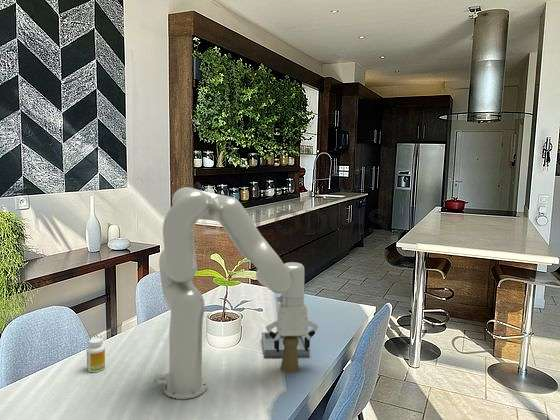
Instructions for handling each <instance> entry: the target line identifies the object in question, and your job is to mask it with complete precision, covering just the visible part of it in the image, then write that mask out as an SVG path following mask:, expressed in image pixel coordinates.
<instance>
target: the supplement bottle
mask: <svg viewBox="0 0 560 420" xmlns="http://www.w3.org/2000/svg"><path fill="white" fill-rule="evenodd" d="M88 345H89V346H88V347H87V348H86V370H87V372H88V373H100V372H102V371H103V370H104V369H106V368H105V367H106V350H105V348H106V347H105V345H104V344H103V339H102V338H100V337H94V338H90V339H89V341H88ZM101 370H102V371H101Z"/></svg>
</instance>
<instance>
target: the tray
mask: <svg viewBox="0 0 560 420" xmlns="http://www.w3.org/2000/svg"><path fill="white" fill-rule="evenodd" d="M273 332H274V333H276V332H277V331H276V332H275V331H273ZM284 337H285V336H280V338H279V352H277V351H276V349H274V339H273V338H272V337H271V336H270V335H269V333H268V331H267V332H266V331H265V332H264V331H263V332H261V344H262V351H263V357H264V358H263V359H282V358H283V352H284V345H283V339H284ZM296 337H297V338H298V346H297V356H298V359H299V358H306V359H307V358H310V355H311V354H310V349H311V348H308V351H305V348H304V340H305V335H304V336H296Z"/></svg>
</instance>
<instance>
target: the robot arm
mask: <svg viewBox="0 0 560 420" xmlns="http://www.w3.org/2000/svg"><path fill="white" fill-rule="evenodd" d="M171 202H172V205H171V206H170V208H169V209H168V211H167V213H166V215H165V217H164V219H163V224H162V239H163V250H162V251H161V253H160V256H159V259H158V262H159V263H158V267H159V273H160V281H161V290H162V295H163V298H164V301H165V303H166V304H167V307H168V308H169V310H170V319H169V320H170V321H169V328H168V329H169V331H168V332H169V333H168V334H169V335H168V338H169V339H168V342H169V344H168V347H169V349H168V350H169V353H168V354H169V357H168V358H169V359H168V360H169V362H168V363H169V366H168V367H169V369H168V373H165V374H155V375H153V377H154V378H153V381H154V382H156V385H157V386H159V385H160V386H161V385H163V392H164V394H165V395H166V396H168V397H169V398H171V397H172V399H175V398H176V399H177V400H188V399H193V398H196V397H199V396H201V395H202V394H203V393H205V391H206V390H207V387H208V383H207V381H206V380H205V379H204V378H203V376H202V375H203V373H202V372H203V369H202V368H203V367H202V366H203V323H204V314H205V307H206V306H205V305H206V304H205V299H204V296H203V295H202V292H201V291H200V290H199V289H198V288H197V286H195V285H194V283H193V279H194V278H195V276H196V274H197V272H198V262H197V261H198V260H197V256H196V255H197V254H196V248H195V238H194V230H195V225H196V224H197V222H198V221H199V220H200V219H203V220H204V219H205V220H211V221H215V222H218V223H219V224H220V225H221V227H222V228H223V230H224V231H225V233H226V234H227V236H228V237H229V238H230V240H231V241H232V243H233V245H234V246H235V248H236V249H237V251H238V252H240V253H241V256H243V257H245V258H246V260H248V261H249V262H250V263H251V264H253V265H254V267H255V268H256V272H255V278H256V279H257V282H258V283H259V284H261V285H262V286H263V287H265V288H267V289H268V290H269V291H271V292H273V293H275V294H280V296H278V297H276V302H279V304H278V309H277V316H276V320H275V321H274V322H271V323H270V324H268V325H266V326H265V329H266V331H267V332H268V333H269V335H270V336H271V337H272V338H273V339H274V349H276V351H277V352H279V338H280V336H305V340H304V348H305V351H308V348H309V349H311V347H310V344H311V343H310V342H311V339H312V338H313V336H314V335H315V334H316V332H317V330H318V329H319V326H318V324H317V323H315V322H313V321H311V320H309V315H308V307H307V304H306V303H305V266H304V265H303V264H302V263H301V262H293V261H290V262H285V263H284V262H283V261H282V259H281V258H280V256H279V255H278V253H277V252H276V251H275V250H274V249H273V247H272V246H271V245H270V244H269V242H268V241H267V240H266V239H265V237H264V236H263V235H262V233H261V232H260V230H259V229H258V228H257V226H256V225H255V223H254V221H253V220H252V218H251V217H250V215H249V214H248V212H247V211H246V208H245V207H244V206H243V204H242V203H241V202H240V201H239V200H238V199H237V198H235V197H232V196H229V195H224V194H217V193H213V192H208V191H204V190H202V189H201V190H200V189H197V188H193V187H189V186H188V187H187V186H185V187H181V188H178V189H177V190H176V191H175V192H174V193H173V195H172V200H171ZM275 327H276V333H274V332H275V331H273V330H272V329H274V328H275ZM309 327H310V328H311V330H310V331H309ZM176 399H175V400H176Z"/></svg>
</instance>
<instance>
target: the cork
mask: <svg viewBox="0 0 560 420" xmlns="http://www.w3.org/2000/svg"><path fill="white" fill-rule="evenodd" d="M283 345H284V352H283V358H281V359H282V360H281V365H280V370H281V371H282V372H284V373H289V374H290V373H291V374H293V373H297V372H298V371H299V370H300V369H299V367H300V366H299V358H298V356H297V346H298V338H297V337H296V336H285V337H284V339H283Z"/></svg>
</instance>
